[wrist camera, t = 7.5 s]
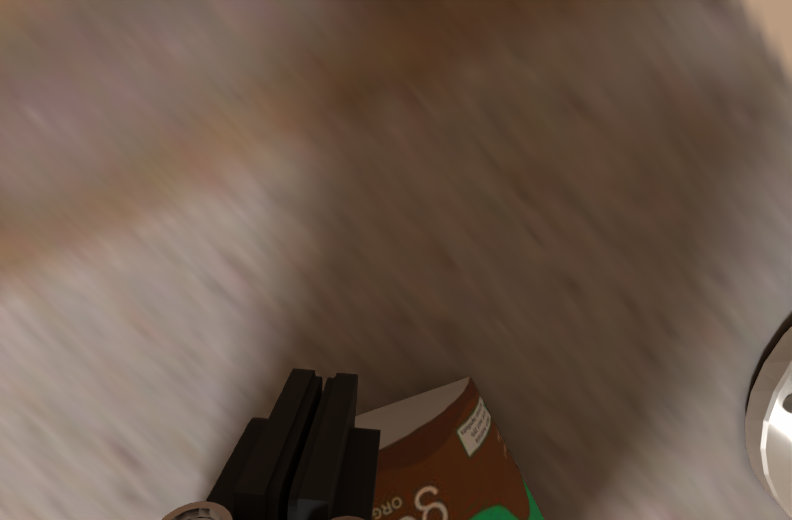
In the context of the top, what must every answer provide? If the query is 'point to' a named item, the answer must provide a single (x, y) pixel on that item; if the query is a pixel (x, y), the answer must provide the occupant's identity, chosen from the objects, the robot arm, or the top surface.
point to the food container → (445, 460)
